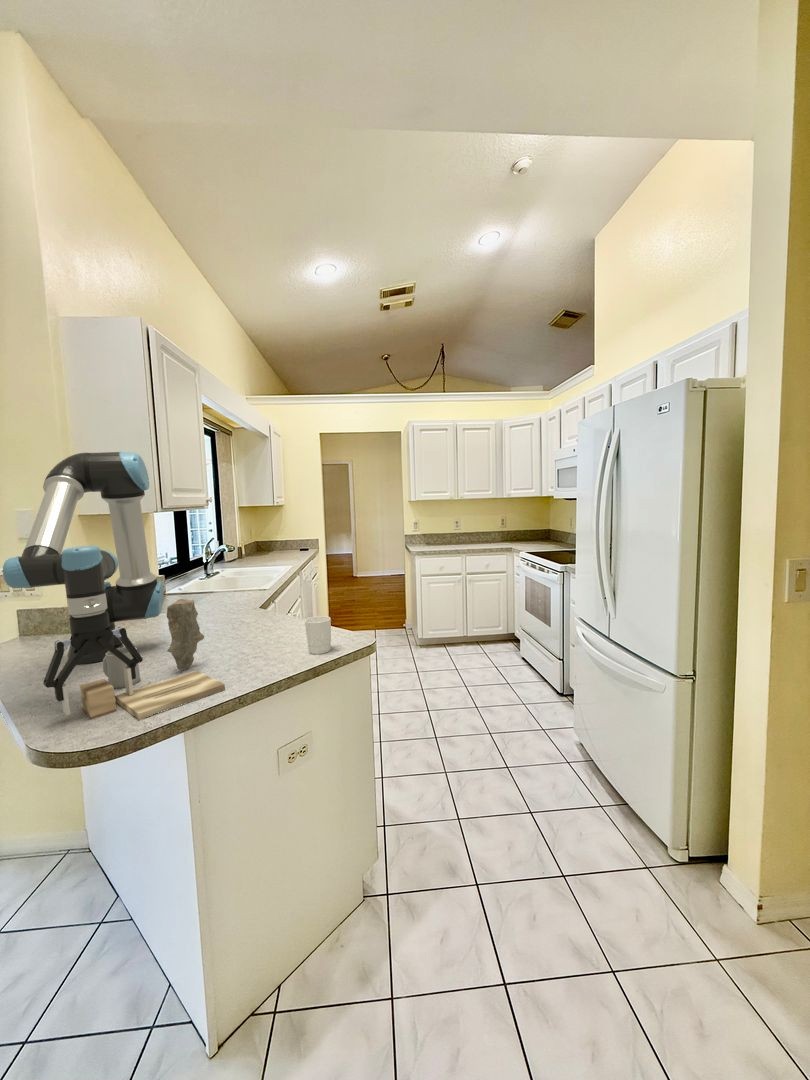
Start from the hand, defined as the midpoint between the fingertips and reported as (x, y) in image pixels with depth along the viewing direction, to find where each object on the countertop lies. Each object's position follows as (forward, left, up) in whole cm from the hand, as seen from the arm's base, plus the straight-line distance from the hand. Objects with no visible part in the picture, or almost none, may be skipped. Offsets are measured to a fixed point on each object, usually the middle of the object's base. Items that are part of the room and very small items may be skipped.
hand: (99, 702), depth 110 cm
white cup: (+10, +57, -2) cm, 58 cm away
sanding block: (0, 0, -2) cm, 2 cm away
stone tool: (-10, +25, -2) cm, 27 cm away
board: (+6, +14, -2) cm, 15 cm away
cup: (-15, +9, -2) cm, 18 cm away
